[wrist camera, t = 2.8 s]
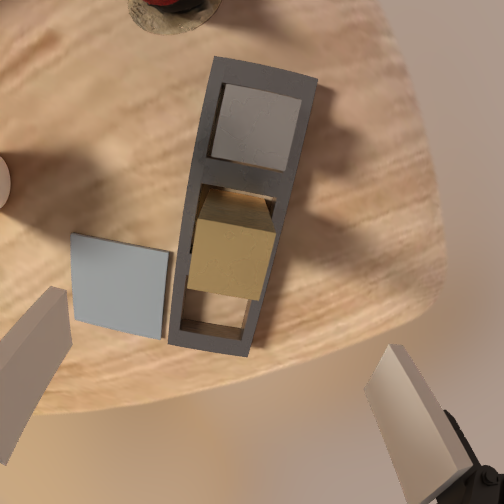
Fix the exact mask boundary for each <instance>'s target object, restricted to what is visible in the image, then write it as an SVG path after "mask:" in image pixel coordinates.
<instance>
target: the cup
mask: <svg viewBox="0 0 504 504" xmlns="http://www.w3.org/2000/svg"><path fill="white" fill-rule="evenodd" d="M10 185H11V182H10V174H9V170H8V167H7V165H6V163H5V161H4V160H3V159H2V157H0V208H1V207H3V205H4V204H5V203H6V201H7V199H8V196H9V193H10Z"/></svg>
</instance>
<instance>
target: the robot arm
mask: <svg viewBox="0 0 504 504" xmlns="http://www.w3.org/2000/svg"><path fill="white" fill-rule="evenodd" d="M71 346H72V338H71V330H70V322H69V313H68V302H67V290H64V289H60V288H56V287H53V286H50V287H49V288H48V289H47V290H46V291H45V292H44V293H43V294H42V295H41V297H40V298H39V299H38V300H37V301H36V302H35V303H34V304H33V305H32V306H31V307H30V308H29V309H28V310H27V311H26V313H25V314H24V315H23V316H22V317H21V318H20V319H19V320H18V321H17V322H16V324H15V325H14V326H13V327H12V328H11V329H10V330H9V332H8V333H7V334H6V335H5V336H4V337H3V339H2V340H1V341H0V463H1V464H3V465H5V466H6V465H7V463H8V461H9V458H10V456H11V454H12V452H13V450H14V448H15V446H16V444H17V442H18V440H19V438H20V436H21V434H22V432H23V430H24V428H25V426H26V424H27V422H28V421H29V419H30V417H31V415H32V413H33V411H34V409H35V408H36V406H37V404H38V402H39V400H40V399H41V397H42V395H43V393H44V391H45V390H46V388H47V386H48V384H49V383H50V381H51V379H52V378H53V376H54V374H55V373H56V371H57V369H58V368H59V366H60V364H61V363H62V361H63V359H64V358H65V356H66V354H67V353H68V351H69V350H70V348H71ZM364 392H365V394H366V397H367V399H368V402H369V404H370V407H371V409H372V412H373V414H374V416H375V419H376V422H377V424H378V427H379V429H380V432H381V434H382V437H383V439H384V442H385V444H386V447H387V450H388V452H389V455H390V457H391V460H392V463H393V466H394V468H395V471H396V473H397V476H398V479H399V482H400V485H401V487H402V490H403V493H404V496H405V499H406V501H407V504H429V503H430V502H431V501H432V500H434V499H435V498H436V500H437V502H438V503H437V504H504V474H498V472H497V471H496V470H495V469H494V468H492V467H491V466H488V465H483V466H481V464H480V463H479V461H478V459H477V458H476V456H475V454H474V452H473V450H472V448H471V447H470V445H469V443H468V441H467V439H466V438H465V437H464V434H463V432H462V431H461V430H460V427H459V425H458V424H457V423H456V420H455V418H454V417H453V416H452V415H451V414H450V413H449V412H447V411H446V410H443V409H442V408H441V406H440V404H439V403H438V401H437V399H436V398H435V396H434V394H433V392H432V391H431V389H430V388H429V386H428V384H427V383H426V381H425V379H424V378H423V376H422V374H421V373H420V371H419V370H418V368H417V366H416V365H415V363H414V362H413V360H412V359H411V357H410V355H409V354H408V352H407V351H406V349H405V348H404V346H403V345H397V344H389V345H388V347H387V348H386V350H385V352H384V354H383V356H382V358H381V360H380V362H379V363H378V365H377V367H376V369H375V371H374V372H373V374H372V376H371V378H370V379H369V381H368V383H367V385H366V386H365V388H364Z"/></svg>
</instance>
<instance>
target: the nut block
mask: <svg viewBox="0 0 504 504" xmlns="http://www.w3.org/2000/svg"><path fill="white" fill-rule="evenodd" d="M275 237H276V231H275V228H274V225H273V222H272V220H271V217H270V214H269V211H268V208H267V205H266V203H265V200H264V199H263V198H258V197H253V196H248V195H243V194H238V193H233V192H228V191H222V190H217V189H212V188H210V190H209V193H208V195H207V197H206V200H205V202H204V204H203V207H202V209H201V212H200V214H199V216H198V219H197V225H196V231H195V238H194V244H193V250H192V257H191V264H190V271H189V278H188V285H187V289H193V290H198V291H204V292H210V293H215V294H221V295H227V296H233V297H239V298H245V299H251V300H257V301H259V299H260V295H261V291H262V287H263V283H264V279H265V276H266V272H267V268H268V264H269V260H270V256H271V252H272V248H273V244H274V240H275Z"/></svg>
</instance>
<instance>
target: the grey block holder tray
mask: <svg viewBox="0 0 504 504" xmlns="http://www.w3.org/2000/svg"><path fill="white" fill-rule="evenodd" d="M317 82H318V79H317V78H313V77H310V76H306V75H302V74H299V73H295V72H291V71H287V70H283V69H279V68H274V67H270V66H265V65H261V64H256V63H251V62H246V61H241V60H235V59H229V58H223V57H217V56H214V60H213V64H212V68H211V72H210V76H209V80H208V85H207V89H206V94H205V98H204V103H203V107H202V112H201V117H200V122H199V127H198V132H197V137H196V142H195V147H194V152H193V158H192V163H191V169H190V174H189V180H188V186H187V192H186V198H185V204H184V211H183V217H182V224H181V231H180V238H179V245H178V253H177V260H176V268H175V277H174V285H173V294H172V304H171V314H170V324H169V335H168V344H170V345H175V346H180V347H186V348H191V349H197V350H203V351H209V352H215V353H221V354H228V355H235V356H242V357H248V354H249V350H250V346H251V343H252V339H253V336H254V332H255V328H256V325H257V321H258V317H259V314H260V310H261V306H262V303H263V299H264V295H265V291H266V288H267V284H268V280H269V276H270V273H271V269H272V265H273V261H274V257H275V254H276V250H277V246H278V242H279V238H280V234H281V230H282V226H283V223H284V219H285V215H286V211H287V207H288V203H289V199H290V195H291V191H292V187H293V183H294V179H295V175H296V171H297V167H298V162H299V158H300V154H301V150H302V146H303V142H304V138H305V133H306V129H307V125H308V121H309V116H310V112H311V108H312V104H313V99H314V95H315V91H316V86H317ZM226 84H231V85H236V86H242V87H247V88H252V89H257V90H261V91H266V92H271V93H275V94H279V95H283V96H287V97H292V98H295V99H299V100H302V101H301V105H300V110H299V114H298V118H297V123H296V127H295V131H294V136H293V140H292V144H291V148H290V153H289V157H288V161H287V165H286V169H285V171H281V170H277V169H272V168H268V167H263V166H258V165H254V164H249V163H244V162H239V161H233V160H228V159H223V158H217V157H212V156H208V153H209V148H210V143H211V138H212V133H213V129H214V124H215V119H216V114H217V110H218V105H219V101H220V96H221V92H222V87H223V86H226ZM203 183H204V184H209V185H215V186H220V187H226V188H231V189H236V190H241V191H246V192H251V193H256V194H261V195H266V196H271V197H273V199H272V203H271V208H270V212H269V214H270V217H271V220H272V222H273V225H274V228H275V231H276V237H275V240H274V244H273V248H272V252H271V256H270V260H269V264H268V268H267V272H266V276H265V279H264V283H263V287H262V291H261V295H260V299H259V301H257V300H251V299H248V303H247V307H246V311H245V315H244V319H243V323H242V327H241V328H234V327H228V326H222V325H216V324H210V323H204V322H198V321H193V320H187V319H182V317H183V309H184V301H185V293H186V286H187V279H188V275H189V271H190V264H191V257H192V250H193V238H194V232H195V226H196V220H197V214H198V208H199V202H200V196H201V191H202V185H203Z"/></svg>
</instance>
